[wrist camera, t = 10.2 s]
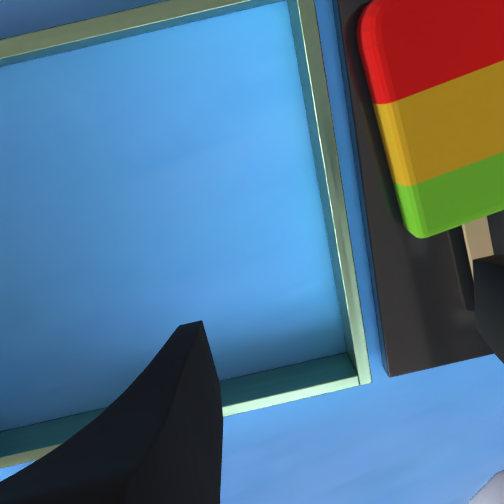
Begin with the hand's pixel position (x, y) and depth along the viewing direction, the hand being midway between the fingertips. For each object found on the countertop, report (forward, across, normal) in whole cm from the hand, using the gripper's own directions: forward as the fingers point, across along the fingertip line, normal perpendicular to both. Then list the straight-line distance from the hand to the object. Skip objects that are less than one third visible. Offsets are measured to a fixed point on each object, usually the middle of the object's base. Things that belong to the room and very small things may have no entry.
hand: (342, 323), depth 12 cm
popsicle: (+9, -7, -1) cm, 11 cm away
